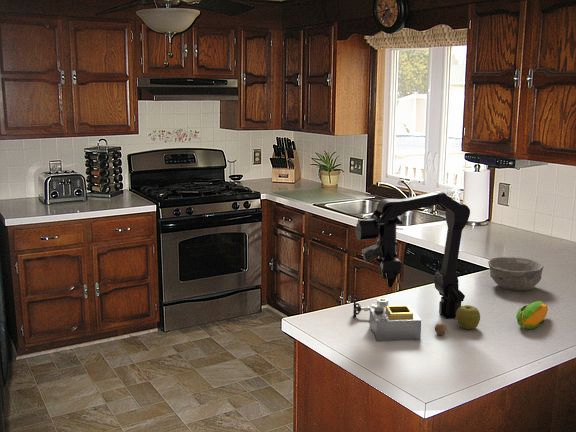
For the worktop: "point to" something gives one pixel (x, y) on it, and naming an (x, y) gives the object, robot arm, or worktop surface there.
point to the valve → (380, 303)
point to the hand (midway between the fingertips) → (387, 282)
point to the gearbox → (395, 323)
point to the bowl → (515, 272)
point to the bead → (440, 328)
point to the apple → (468, 317)
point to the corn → (532, 315)
